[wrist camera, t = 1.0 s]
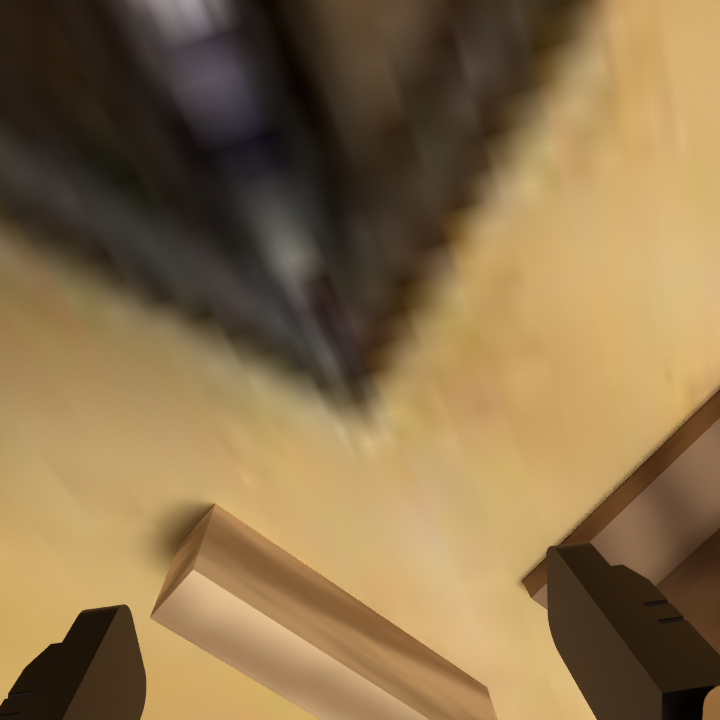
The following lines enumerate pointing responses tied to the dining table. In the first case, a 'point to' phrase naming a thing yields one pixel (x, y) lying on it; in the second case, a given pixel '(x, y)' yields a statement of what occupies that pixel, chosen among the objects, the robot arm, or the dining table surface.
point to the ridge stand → (666, 524)
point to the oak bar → (304, 632)
